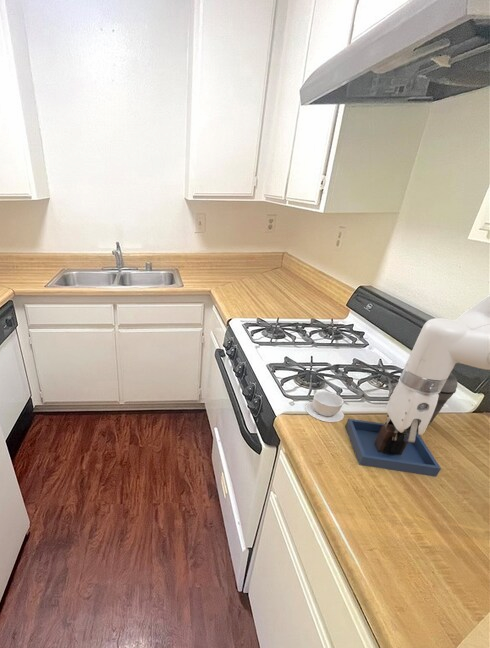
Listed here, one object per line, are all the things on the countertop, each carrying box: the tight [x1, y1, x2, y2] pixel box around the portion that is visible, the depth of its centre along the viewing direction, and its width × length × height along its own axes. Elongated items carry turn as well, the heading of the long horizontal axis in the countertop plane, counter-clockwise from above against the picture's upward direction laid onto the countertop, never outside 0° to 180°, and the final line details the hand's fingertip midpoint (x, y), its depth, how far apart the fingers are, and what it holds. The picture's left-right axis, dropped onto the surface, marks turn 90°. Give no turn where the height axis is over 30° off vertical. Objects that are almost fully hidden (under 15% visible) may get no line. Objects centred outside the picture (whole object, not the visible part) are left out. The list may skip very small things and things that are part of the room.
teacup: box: [304, 390, 345, 423], centre depth 93 cm, size 10×10×5 cm
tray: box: [344, 418, 442, 478], centre depth 81 cm, size 16×15×3 cm
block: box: [374, 422, 408, 455], centre depth 80 cm, size 5×3×6 cm, turn 78°
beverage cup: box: [427, 372, 458, 428], centre depth 86 cm, size 7×7×20 cm
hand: (388, 446), depth 81 cm, fingers closed on block, 3 cm apart
